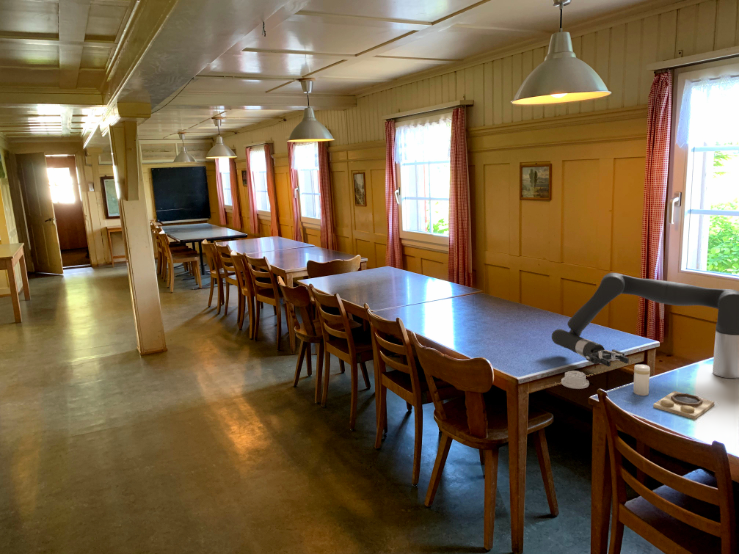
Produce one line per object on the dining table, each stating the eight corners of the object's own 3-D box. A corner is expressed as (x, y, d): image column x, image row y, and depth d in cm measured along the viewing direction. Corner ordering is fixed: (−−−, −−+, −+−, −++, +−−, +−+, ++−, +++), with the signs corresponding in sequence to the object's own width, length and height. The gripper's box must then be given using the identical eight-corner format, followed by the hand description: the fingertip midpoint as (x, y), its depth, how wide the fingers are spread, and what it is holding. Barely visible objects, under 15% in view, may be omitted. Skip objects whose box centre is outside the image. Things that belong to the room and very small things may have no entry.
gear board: (674, 394, 193) (674, 388, 192) (714, 405, 183) (714, 398, 182) (653, 407, 183) (653, 401, 183) (694, 419, 173) (695, 413, 173)
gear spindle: (637, 388, 199) (638, 363, 197) (651, 392, 195) (652, 366, 193) (630, 392, 196) (631, 366, 194) (644, 396, 192) (646, 370, 190)
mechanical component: (560, 388, 204) (588, 390, 200) (560, 377, 203) (589, 379, 199) (561, 378, 213) (588, 381, 209) (562, 368, 212) (589, 370, 208)
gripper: (575, 343, 217) (604, 355, 202) (604, 339, 221) (634, 350, 206) (574, 360, 218) (603, 374, 203) (603, 356, 222) (633, 369, 207)
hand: (619, 362), depth 204 cm, fingers open, 8 cm apart
